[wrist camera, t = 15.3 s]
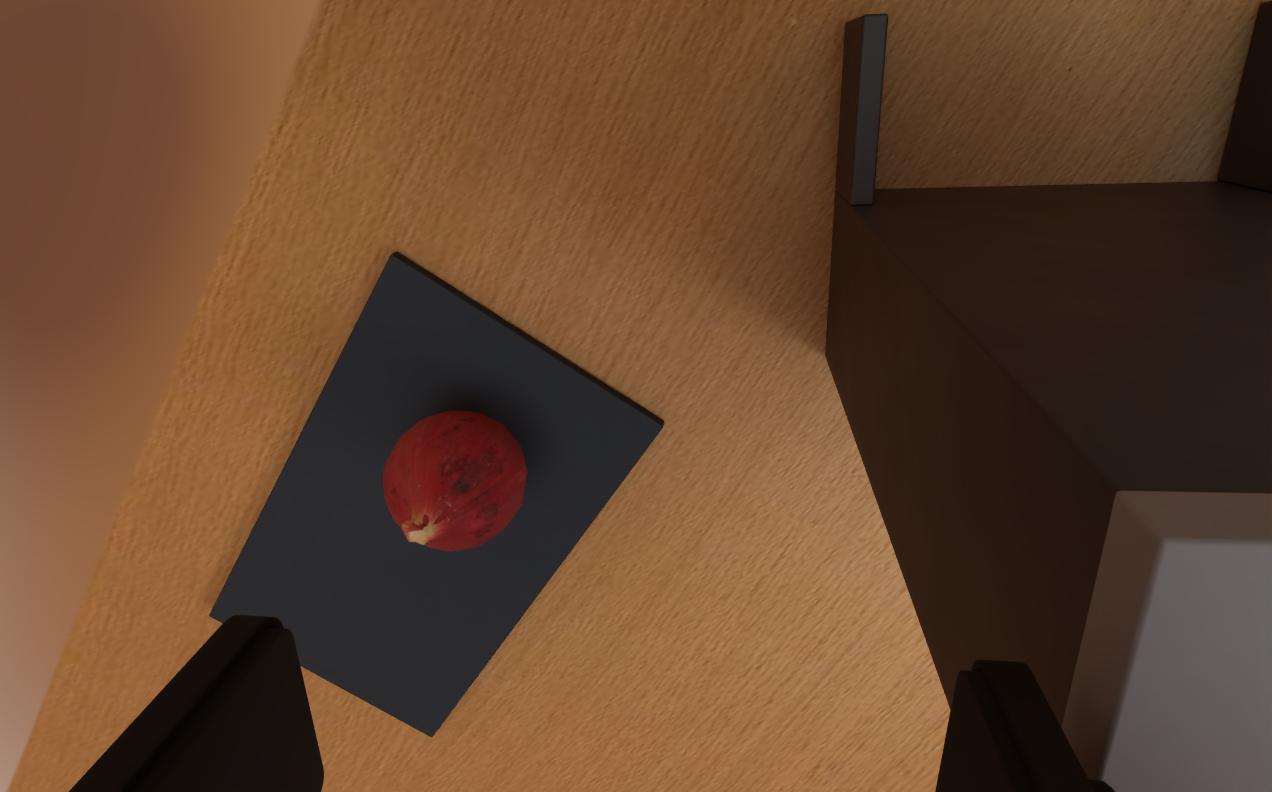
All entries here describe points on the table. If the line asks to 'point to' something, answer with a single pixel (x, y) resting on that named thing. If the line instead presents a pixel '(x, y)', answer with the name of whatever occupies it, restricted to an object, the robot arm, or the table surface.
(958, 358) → the grey legged box
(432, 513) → the pomegranate
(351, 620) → the mat
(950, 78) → the table surface
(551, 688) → the table surface
